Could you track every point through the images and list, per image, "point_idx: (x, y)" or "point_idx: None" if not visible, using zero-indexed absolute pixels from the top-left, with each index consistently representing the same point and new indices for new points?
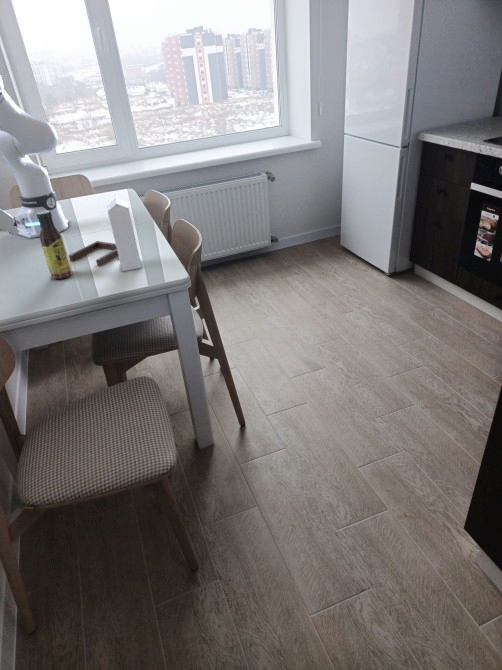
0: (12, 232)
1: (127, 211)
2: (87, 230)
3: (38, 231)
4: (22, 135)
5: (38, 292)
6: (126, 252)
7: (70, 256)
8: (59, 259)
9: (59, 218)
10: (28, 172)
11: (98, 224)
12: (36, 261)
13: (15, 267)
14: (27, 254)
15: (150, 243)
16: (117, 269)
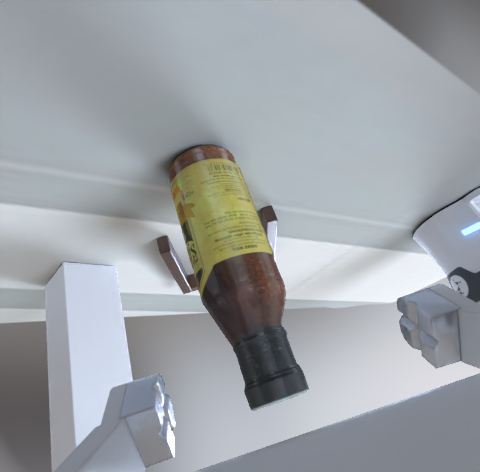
0: (106, 422)
1: (52, 460)
2: (358, 255)
3: (465, 210)
4: None
5: (141, 60)
6: (57, 322)
7: (269, 219)
8: (184, 227)
9: (432, 254)
10: None
11: (354, 268)
12: (375, 154)
13: (423, 102)
14: (435, 154)
15: (170, 305)
16: (91, 256)
